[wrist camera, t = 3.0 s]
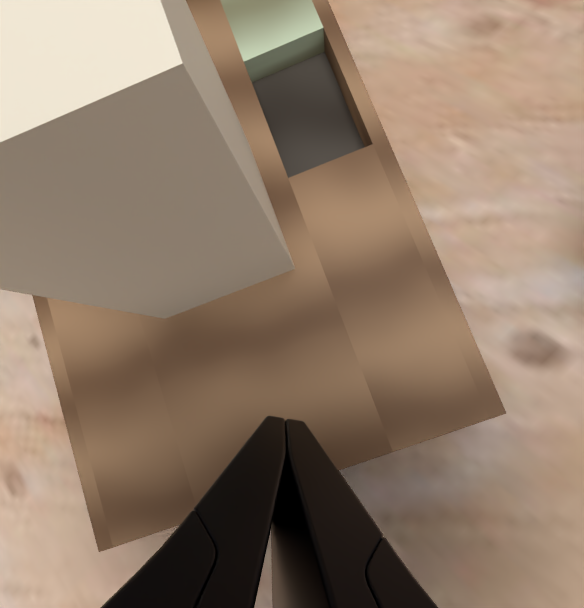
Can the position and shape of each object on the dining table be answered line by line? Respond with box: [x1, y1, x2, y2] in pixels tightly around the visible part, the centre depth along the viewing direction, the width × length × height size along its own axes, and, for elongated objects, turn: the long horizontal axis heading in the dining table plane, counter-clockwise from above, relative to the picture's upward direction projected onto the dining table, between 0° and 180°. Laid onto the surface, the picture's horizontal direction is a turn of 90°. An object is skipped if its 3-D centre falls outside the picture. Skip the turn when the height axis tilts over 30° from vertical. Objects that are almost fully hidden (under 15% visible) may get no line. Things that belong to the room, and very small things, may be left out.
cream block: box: [0, 0, 295, 319], centre depth 13 cm, size 7×7×14 cm
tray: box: [32, 0, 506, 552], centre depth 20 cm, size 27×20×4 cm
